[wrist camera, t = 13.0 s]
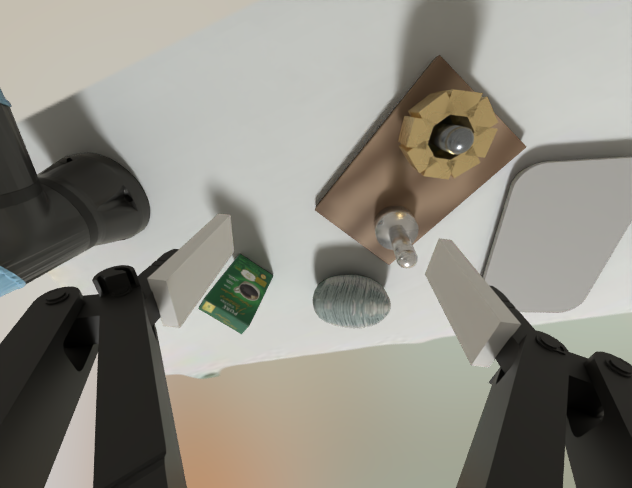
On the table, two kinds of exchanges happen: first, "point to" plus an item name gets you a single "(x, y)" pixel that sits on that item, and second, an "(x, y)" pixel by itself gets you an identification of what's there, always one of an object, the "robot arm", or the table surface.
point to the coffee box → (237, 294)
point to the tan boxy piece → (462, 112)
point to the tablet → (559, 231)
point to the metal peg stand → (450, 137)
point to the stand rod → (397, 233)
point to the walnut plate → (408, 172)
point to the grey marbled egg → (351, 301)
